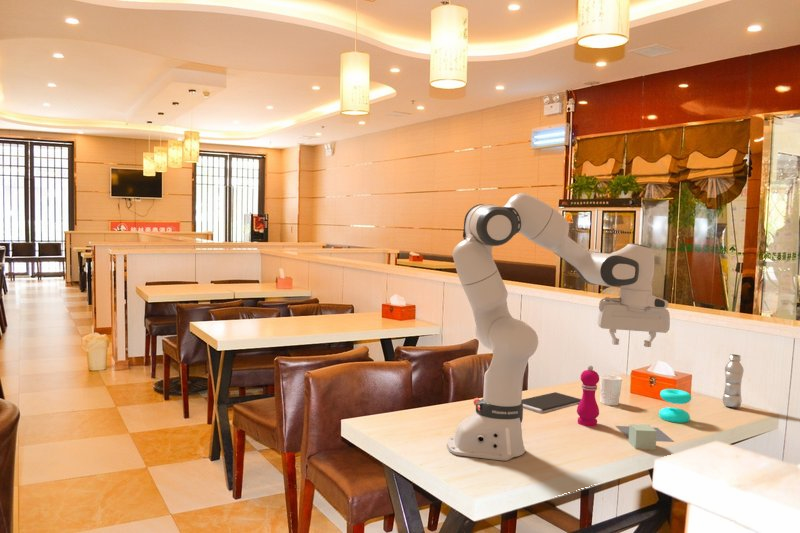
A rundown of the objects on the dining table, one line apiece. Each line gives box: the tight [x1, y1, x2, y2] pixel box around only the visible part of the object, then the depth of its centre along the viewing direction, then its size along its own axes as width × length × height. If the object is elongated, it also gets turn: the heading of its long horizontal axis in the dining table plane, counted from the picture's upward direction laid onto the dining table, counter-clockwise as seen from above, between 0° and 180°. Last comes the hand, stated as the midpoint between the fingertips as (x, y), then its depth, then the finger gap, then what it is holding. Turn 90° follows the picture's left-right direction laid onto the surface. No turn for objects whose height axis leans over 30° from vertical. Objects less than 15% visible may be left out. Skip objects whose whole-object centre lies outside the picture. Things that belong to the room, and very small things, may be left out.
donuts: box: [658, 388, 692, 424], centre depth 217 cm, size 10×10×10 cm
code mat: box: [615, 425, 675, 443], centre depth 200 cm, size 14×14×1 cm
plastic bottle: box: [722, 353, 744, 409], centre depth 236 cm, size 6×7×20 cm
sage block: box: [627, 423, 657, 451], centre depth 188 cm, size 6×6×6 cm
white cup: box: [599, 374, 623, 406], centre depth 235 cm, size 8×8×10 cm
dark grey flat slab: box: [522, 391, 582, 414], centre depth 232 cm, size 13×27×2 cm, turn 130°
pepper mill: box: [576, 365, 600, 428], centre depth 207 cm, size 7×7×20 cm
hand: (631, 345), depth 183 cm, fingers open, 8 cm apart
